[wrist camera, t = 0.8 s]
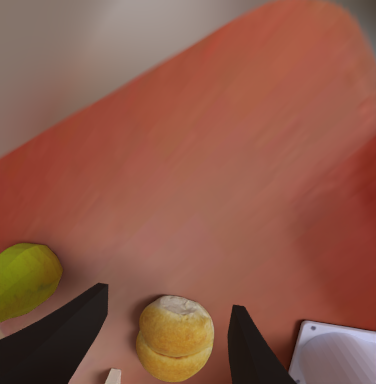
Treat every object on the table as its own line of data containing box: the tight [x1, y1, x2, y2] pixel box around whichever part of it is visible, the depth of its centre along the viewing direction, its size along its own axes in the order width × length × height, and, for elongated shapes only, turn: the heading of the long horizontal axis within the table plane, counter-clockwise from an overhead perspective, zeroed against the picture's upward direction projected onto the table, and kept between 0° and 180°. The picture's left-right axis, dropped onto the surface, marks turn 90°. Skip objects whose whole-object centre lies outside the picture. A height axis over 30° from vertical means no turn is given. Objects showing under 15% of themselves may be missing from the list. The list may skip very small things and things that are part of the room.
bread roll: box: [136, 295, 214, 382], centre depth 21 cm, size 8×9×4 cm
